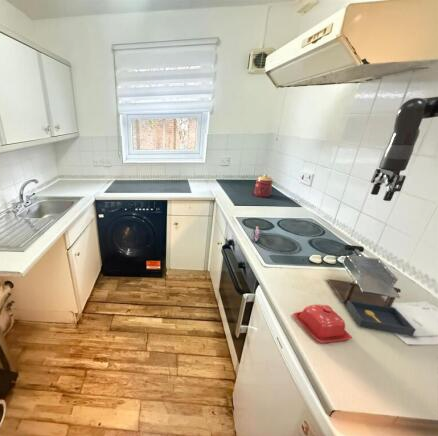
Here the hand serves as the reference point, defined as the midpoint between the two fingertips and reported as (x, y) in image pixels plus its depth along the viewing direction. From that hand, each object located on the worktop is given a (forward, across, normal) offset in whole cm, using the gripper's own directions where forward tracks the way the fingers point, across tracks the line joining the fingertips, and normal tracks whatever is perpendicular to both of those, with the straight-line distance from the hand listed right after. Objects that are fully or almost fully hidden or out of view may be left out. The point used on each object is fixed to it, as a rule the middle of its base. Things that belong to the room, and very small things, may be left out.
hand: (380, 197), depth 96 cm
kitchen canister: (+30, +97, +25) cm, 105 cm away
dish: (+21, -25, +11) cm, 35 cm away
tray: (+30, -39, +11) cm, 50 cm away
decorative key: (+30, +15, +40) cm, 52 cm away
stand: (+30, -27, +11) cm, 42 cm away
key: (+30, -39, +12) cm, 51 cm away
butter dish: (+30, -48, +30) cm, 64 cm away
